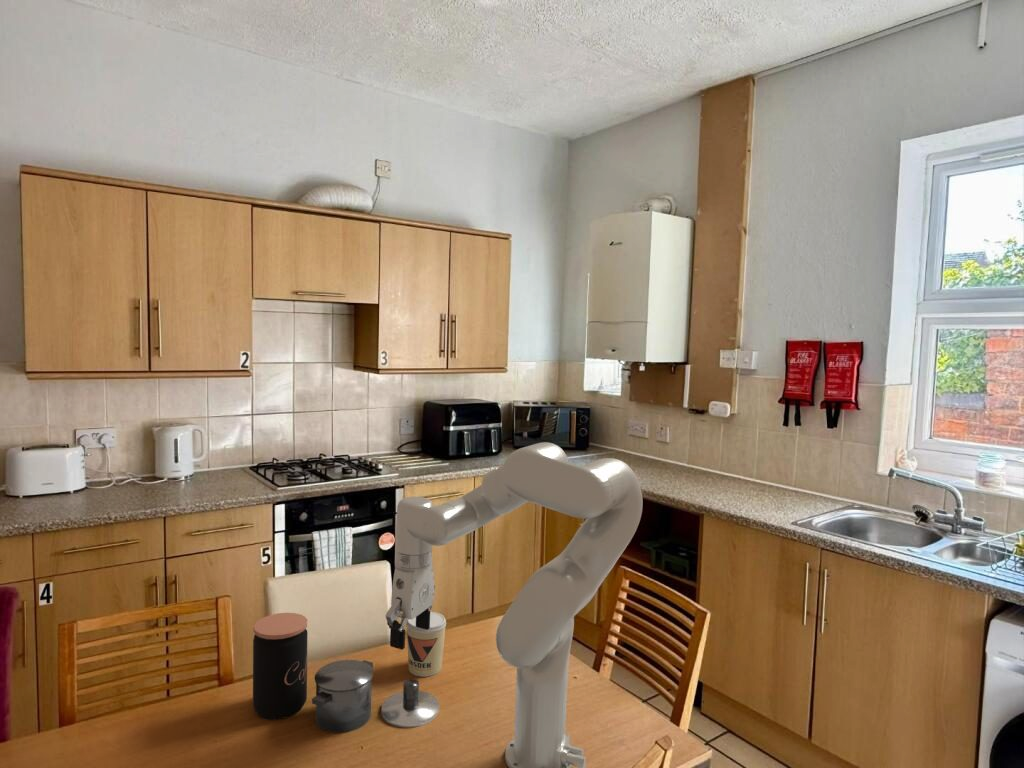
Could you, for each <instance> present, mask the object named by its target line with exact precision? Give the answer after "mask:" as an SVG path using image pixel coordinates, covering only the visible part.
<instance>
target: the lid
mask: <svg viewBox="0 0 1024 768" xmlns="http://www.w3.org/2000/svg"><path fill="white" fill-rule="evenodd" d="M419 687H420V683H419V680H418V679H414V678H409V679H405V680H404V681H403V687H402V689H403V691H399V692H395V693H394V694H390V696H388V697H387V698H386V699H385V700H384V701H383V702H382V703H381V717H382V719H383V720H384V721H385V722H386V723H388V724H389V725H392V726H394V727H399V728H416V727H420V726H424V725H426V724H429V723H431V722H432V721H433V720H434V719H436V717H437V716H439V712H440V702H439V699H438V698H437V697H436V696H435V695H433V694H432V693H429V692H428V691H423V690H419Z"/></svg>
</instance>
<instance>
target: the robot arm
mask: <svg viewBox="0 0 1024 768" xmlns="http://www.w3.org/2000/svg"><path fill="white" fill-rule="evenodd" d="M528 502H529V503H532V504H535V505H538V506H540V507H543V508H546V509H549V510H552V511H555V512H558V513H561V514H564V515H567V516H570V517H573V518H576V519H577V518H578V519H584V521H583V522H582V524H581V525H580V527H578V529H577V530H576V532H575V534H574V536H573V538H572V539H571V540H570V541H569V543H568V544H567V545H566V547H565V548H564V549H563V550H562V552H561V553H560V554H558V555H557V556H556V557H554V558H553V559H552V560H550V561H549V562H547V563H545V564H544V565H543V566H541V567H540V568H539V569H537V570H536V571H535V572H534V573H533V574H532V575H531V576H530V577H529V579H528V580H527V581H526V582H525V584H524V585H523V586H522V588H521V590H520V591H519V592H518V594H517V596H516V597H515V599H514V600H513V601H512V603H511V604H510V606H508V609H507V610H506V612H505V613H504V615H503V616H502V617H501V620H500V621H499V623H498V625H497V628H496V633H495V643H496V644H495V645H496V648H497V651H498V653H499V655H500V657H501V659H502V660H503V661H504V662H505V663H506V664H507V665H510V666H511V667H513V668H516V679H515V680H516V683H515V707H514V731H513V732H514V733H513V734H514V735H513V736H514V737H513V739H512V740H511V741H510V742H509V743H508V744H507V746H506V747H505V752H504V753H505V755H504V759H505V764H506V765H507V767H508V768H572V766H574V767H577V768H586V764H587V757H586V756H583V755H584V752H585V751H584V748H581V747H577V746H574V745H572V744H571V743H570V739H571V737H570V734H566V722H567V702H568V701H567V699H568V698H567V695H568V681H569V680H568V679H569V663H570V662H569V661H570V654H571V653H570V652H571V647H572V642H573V634H574V629H575V627H574V626H575V618H574V617H575V616H576V615H577V614H578V613H579V612H580V611H582V609H584V608H585V607H586V606H587V605H588V604H589V602H591V600H592V599H593V598H594V596H595V595H596V593H597V591H598V590H599V588H600V587H601V585H602V584H603V582H604V581H605V579H606V577H608V575H609V574H610V572H611V571H612V570H613V568H614V566H615V565H616V563H617V561H618V560H619V558H620V557H621V556H622V554H623V553H624V551H625V550H626V548H627V546H629V544H630V543H631V541H632V539H633V537H634V535H635V533H636V532H637V529H638V526H639V524H640V521H641V518H642V514H643V507H644V506H643V503H644V502H643V492H642V487H641V484H640V482H639V480H638V477H637V475H636V473H635V472H634V471H633V469H632V468H631V467H630V466H629V464H627V463H626V462H624V461H623V460H620V459H617V458H614V457H613V458H611V457H606V458H605V457H604V458H599V459H596V460H594V461H591V462H589V463H587V464H583V465H581V466H579V465H575V464H572V463H569V459H568V456H567V454H566V453H565V451H564V450H563V448H561V446H559V445H557V444H555V443H552V442H548V441H547V442H546V441H545V442H538V443H533V444H531V445H528V446H527V445H526V446H524V447H520V448H518V449H516V450H514V451H513V452H511V453H510V454H509V455H508V456H507V458H506V459H505V460H504V463H502V464H500V465H499V466H498V465H497V467H495V468H494V469H491V470H489V471H488V472H487V473H486V474H484V476H483V477H482V481H481V484H480V485H479V486H477V487H475V488H474V489H472V490H470V491H469V492H467V493H466V494H464V495H461V496H460V497H458V498H455V499H452V500H450V501H447V502H445V503H441V504H439V505H435V506H434V503H433V501H431V499H429V498H428V497H423V496H408V497H405V498H401V500H399V502H398V503H397V505H396V526H395V527H396V528H395V529H396V530H395V553H394V554H395V555H394V566H395V569H394V573H393V580H392V587H391V599H390V600H391V602H390V607H389V608H388V610H387V611H386V613H385V620H386V622H387V623H386V624H387V626H388V629H390V631H389V632H390V633H389V634H390V635H389V637H390V639H389V646H390V647H392V648H395V649H398V650H404V649H405V648H406V647H405V646H406V629H405V626H406V622H407V620H408V619H410V620H411V619H413V618H415V617H416V627H418V628H422V629H426V630H428V629H429V628H430V612H431V610H432V608H433V606H432V605H434V600H435V589H436V584H435V576H434V573H435V571H434V565H433V559H432V557H433V546H434V547H435V546H436V547H440V546H445V545H447V544H450V543H451V542H453V541H455V540H458V539H460V538H462V537H464V536H466V535H468V534H470V533H472V532H474V531H476V530H478V529H480V528H482V527H483V526H485V525H487V524H488V523H491V522H492V521H494V520H496V519H497V518H500V517H501V516H503V515H507V514H509V513H511V512H512V511H514V510H516V509H518V508H520V507H521V506H524V505H525V504H527V503H528ZM398 618H400V619H401V621H400V622H399V621H398Z"/></svg>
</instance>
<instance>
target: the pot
mask: <svg viewBox="0 0 1024 768" xmlns="http://www.w3.org/2000/svg"><path fill="white" fill-rule="evenodd" d="M373 668H374V662H373V661H372V662H371V661H368V660H364V659H363V660H356V659H343V660H337V661H333V662H330V663H327V664H325V665H324V666H322V667H320V668H319V669H318V670H317V671H316V673H315V675H314V682H315V696H314V697H312V698H311V704H312V705H315V723H316V725H317V727H319V729H321V730H323V731H325V732H329V733H337V734H339V733H341V734H343V733H349V732H353V731H356V730H358V729H359V728H362V727H363V726H365V725H366V724H367V723H368V722H369V720H371V717H372V686H373V685H372V683H373V681H372V680H373V679H372V678H373V676H374V669H373Z"/></svg>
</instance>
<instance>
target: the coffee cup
mask: <svg viewBox="0 0 1024 768" xmlns="http://www.w3.org/2000/svg"><path fill="white" fill-rule="evenodd" d="M405 626H406V637H407V638H406V640H407V659H408V660H407V661H408V671H409V672H410V673H411V675H413V676H416V677H426V678H427V677H431V676H435V675H437V674H438V673H440V672H441V669H442V666H443V658H444V657H443V656H444V647H445V636H446V626H447V620H446V618H445V616H444V615H443V614H442V613H440V612H436V611H430V628H429V629H428V630H426V629H422V628H418V627H416V617H415V618H413V619H411V620H410V619H408V618H407V621H406V624H405Z"/></svg>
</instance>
